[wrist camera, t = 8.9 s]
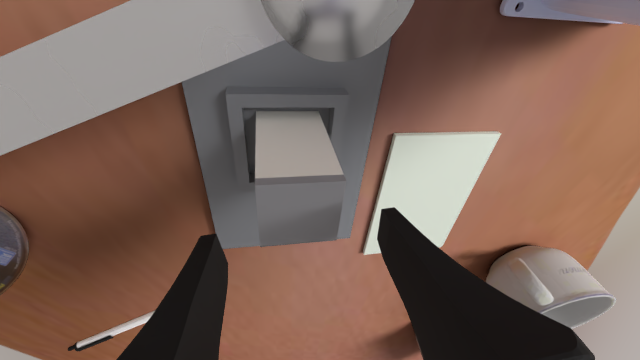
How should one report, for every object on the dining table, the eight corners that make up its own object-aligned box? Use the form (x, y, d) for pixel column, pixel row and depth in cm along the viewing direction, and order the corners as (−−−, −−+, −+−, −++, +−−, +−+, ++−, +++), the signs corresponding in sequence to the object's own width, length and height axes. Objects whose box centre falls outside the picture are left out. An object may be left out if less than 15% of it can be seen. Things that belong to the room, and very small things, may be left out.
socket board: (408, -63, 14) (637, -99, 6) (348, 233, 27) (388, 356, 19) (145, -94, 12) (-141, -233, 3) (220, 244, 25) (200, 388, 17)
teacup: (554, 261, 39) (611, 318, 32) (479, 294, 41) (519, 353, 35) (552, 205, 30) (628, 268, 24) (458, 250, 33) (505, 317, 26)
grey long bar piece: (340, -7, 12) (431, 29, 6) (-63, 159, 13) (-352, 338, 7) (318, -102, 10) (418, -206, 4) (-150, 103, 11) (-653, 280, 5)
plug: (318, 111, 18) (346, 181, 12) (314, 161, 21) (336, 240, 15) (256, 111, 18) (255, 185, 12) (259, 163, 20) (260, 246, 14)
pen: (68, 343, 31) (62, 354, 30) (216, 282, 29) (215, 292, 28) (75, 345, 32) (70, 356, 31) (221, 286, 30) (220, 296, 29)
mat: (497, 131, 23) (501, 133, 22) (439, 244, 31) (441, 246, 31) (394, 133, 21) (395, 135, 21) (362, 251, 29) (364, 254, 29)
